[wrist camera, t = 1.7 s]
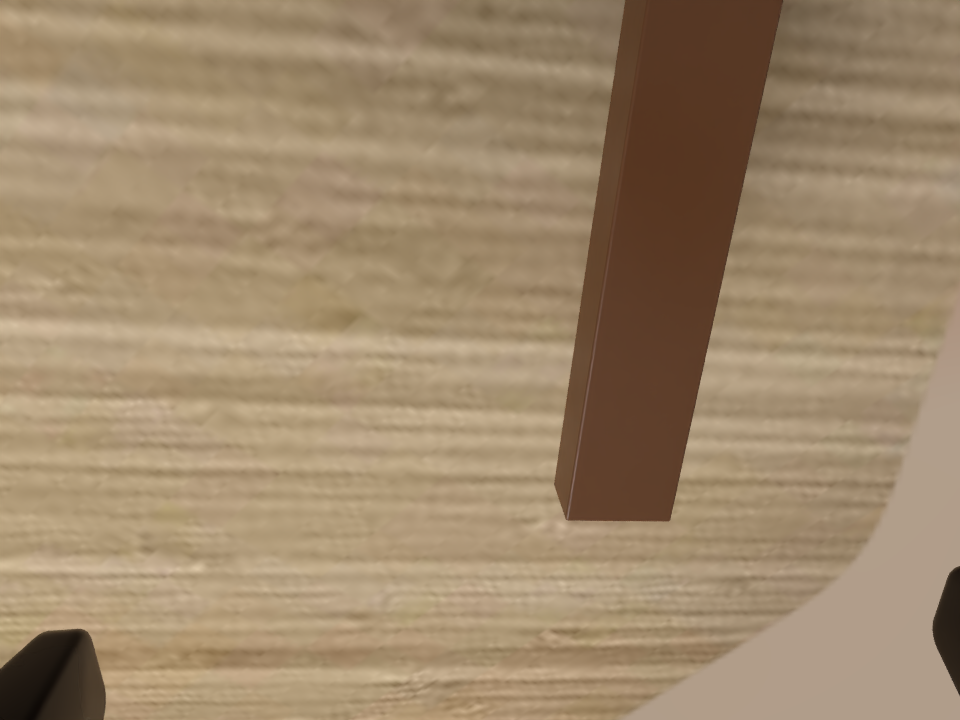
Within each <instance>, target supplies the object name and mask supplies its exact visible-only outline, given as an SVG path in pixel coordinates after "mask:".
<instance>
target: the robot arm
mask: <svg viewBox="0 0 960 720" xmlns="http://www.w3.org/2000/svg"><path fill="white" fill-rule="evenodd" d="M933 637H934V640H935V644H936V646H937V649H938V651H939V653H940V655H941V657H942V659H943V662H944V664H945V666H946V668H947V670H948V672H949V674H950V676H951V678H952V681H953V682H954V685H955V687H956V689H957V691H958V693H959V695H960V566H959V567H956V568H955V569H954V570H953V571H951V572H950V574H949V576H948V578H947V581H946V584H945V587H944V590H943V593H942V596H941V599H940V602H939V605H938V608H937V611H936V614H935V617H934V620H933ZM105 705H106V693H105V686H104V682H103V679H102V675H101V671H100V667H99V664H98V660H97V656H96V653H95V649H94V645H93V642H92V639H91V637H90V635H89V633H88V632H87V631H85V630H82V629H69V630H56V631H47V632H43V633H41V634H40V635H38V636H37V637H35V638H34V639H33V640H32V641H31V642H30V643H28V644H27V645H26V646H25V647H24V648H23V649H22V650H21V651H20V652H18V653H17V654H16V655H15V656H14V657H13V658H12V659H11V660H10V661H8V662H7V663H6V664H5V665H4V666H3V667H2V668H1V669H0V720H103V719H104V713H105Z"/></svg>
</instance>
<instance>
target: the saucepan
mask: <svg viewBox="0 0 960 720" xmlns="http://www.w3.org/2000/svg"><path fill="white" fill-rule="evenodd" d="M782 3H783V0H625V7H624V13H623V20H622V27H621V34H620V41H619V47H618V54H617V61H616V68H615V75H614V81H613V88H612V95H611V102H610V109H609V115H608V122H607V129H606V136H605V143H604V149H603V156H602V163H601V170H600V177H599V183H598V190H597V197H596V204H595V211H594V217H593V224H592V231H591V238H590V245H589V251H588V258H587V265H586V272H585V279H584V285H583V292H582V299H581V306H580V313H579V319H578V326H577V333H576V340H575V347H574V353H573V360H572V367H571V374H570V381H569V387H568V394H567V401H566V408H565V415H564V421H563V428H562V435H561V442H560V449H559V455H558V462H557V469H556V476H555V483H554V485H555V488H556V491H557V494H558V497H559V500H560V503H561V506H562V509H563V512H564V515H565V518H566V520H582V521H670V518H671V514H672V509H673V504H674V500H675V495H676V491H677V486H678V481H679V477H680V472H681V468H682V463H683V458H684V454H685V449H686V445H687V440H688V435H689V431H690V426H691V422H692V417H693V412H694V408H695V403H696V399H697V394H698V389H699V385H700V380H701V376H702V371H703V366H704V362H705V357H706V353H707V348H708V343H709V339H710V334H711V330H712V325H713V320H714V316H715V311H716V307H717V302H718V297H719V293H720V288H721V284H722V279H723V274H724V270H725V265H726V261H727V256H728V251H729V247H730V242H731V238H732V233H733V228H734V224H735V219H736V215H737V210H738V205H739V201H740V196H741V192H742V187H743V182H744V178H745V173H746V169H747V164H748V159H749V155H750V150H751V146H752V141H753V136H754V132H755V127H756V123H757V118H758V113H759V109H760V104H761V100H762V95H763V90H764V86H765V81H766V77H767V72H768V67H769V63H770V58H771V54H772V49H773V44H774V40H775V35H776V31H777V26H778V21H779V17H780V12H781V8H782Z"/></svg>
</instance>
